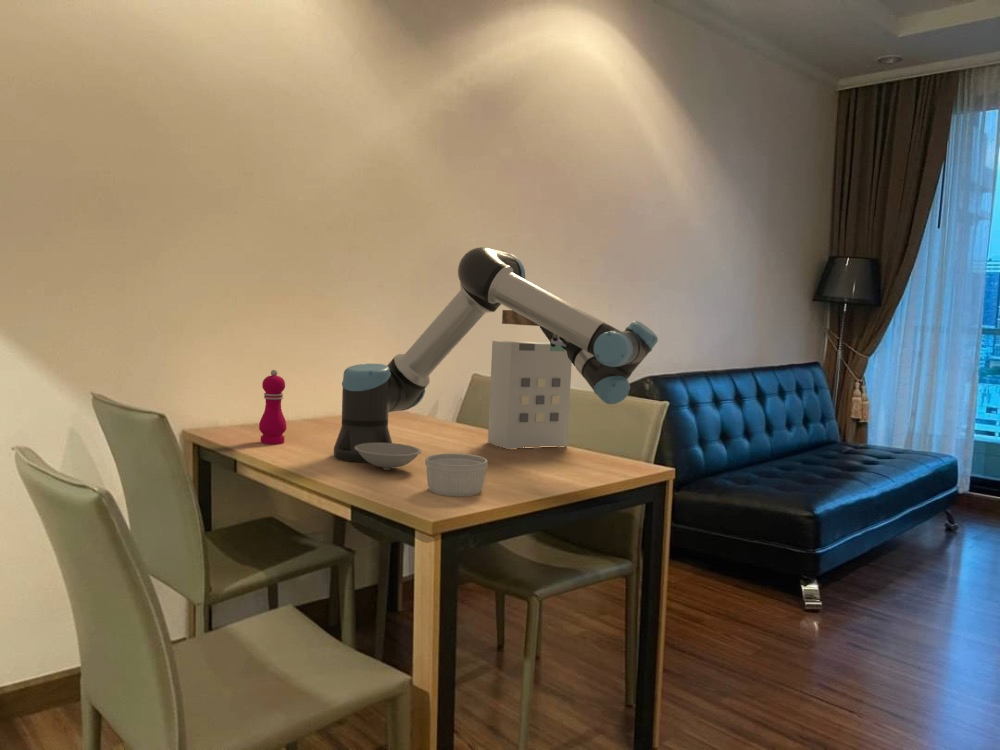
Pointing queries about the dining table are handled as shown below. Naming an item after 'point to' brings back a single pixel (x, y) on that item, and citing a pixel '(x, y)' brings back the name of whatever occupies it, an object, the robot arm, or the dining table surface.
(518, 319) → the walnut rod
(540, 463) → the dining table surface
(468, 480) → the ramekin
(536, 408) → the tall patterned block
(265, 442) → the pepper mill
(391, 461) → the dish
